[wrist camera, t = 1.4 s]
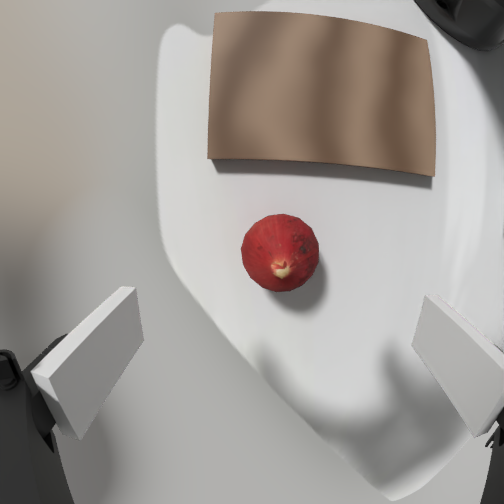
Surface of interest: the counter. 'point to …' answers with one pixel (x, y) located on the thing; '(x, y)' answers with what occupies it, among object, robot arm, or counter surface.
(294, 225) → the onion
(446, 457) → the counter surface
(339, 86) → the walnut board
